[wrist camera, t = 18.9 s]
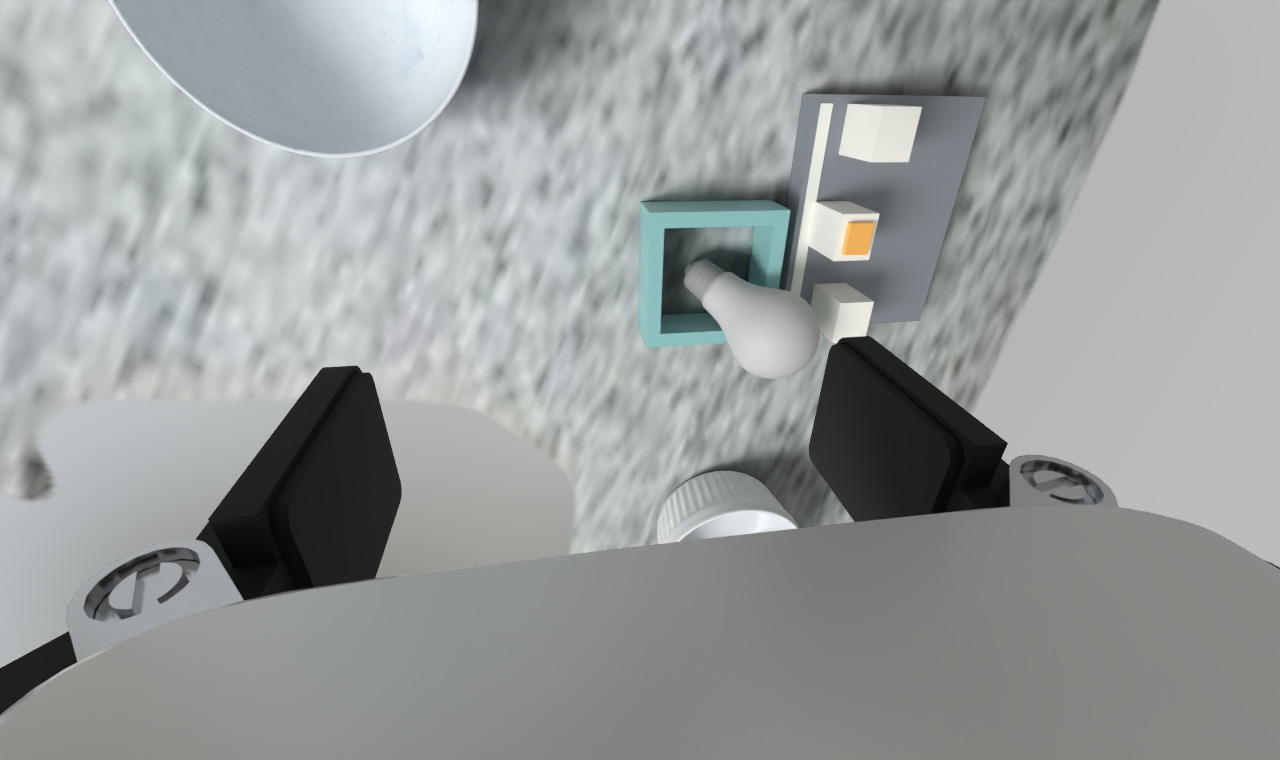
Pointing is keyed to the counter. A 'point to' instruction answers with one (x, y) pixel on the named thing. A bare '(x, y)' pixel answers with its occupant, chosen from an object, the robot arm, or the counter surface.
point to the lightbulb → (757, 320)
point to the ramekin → (720, 509)
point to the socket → (698, 214)
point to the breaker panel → (875, 200)
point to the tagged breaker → (842, 230)
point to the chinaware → (312, 65)
